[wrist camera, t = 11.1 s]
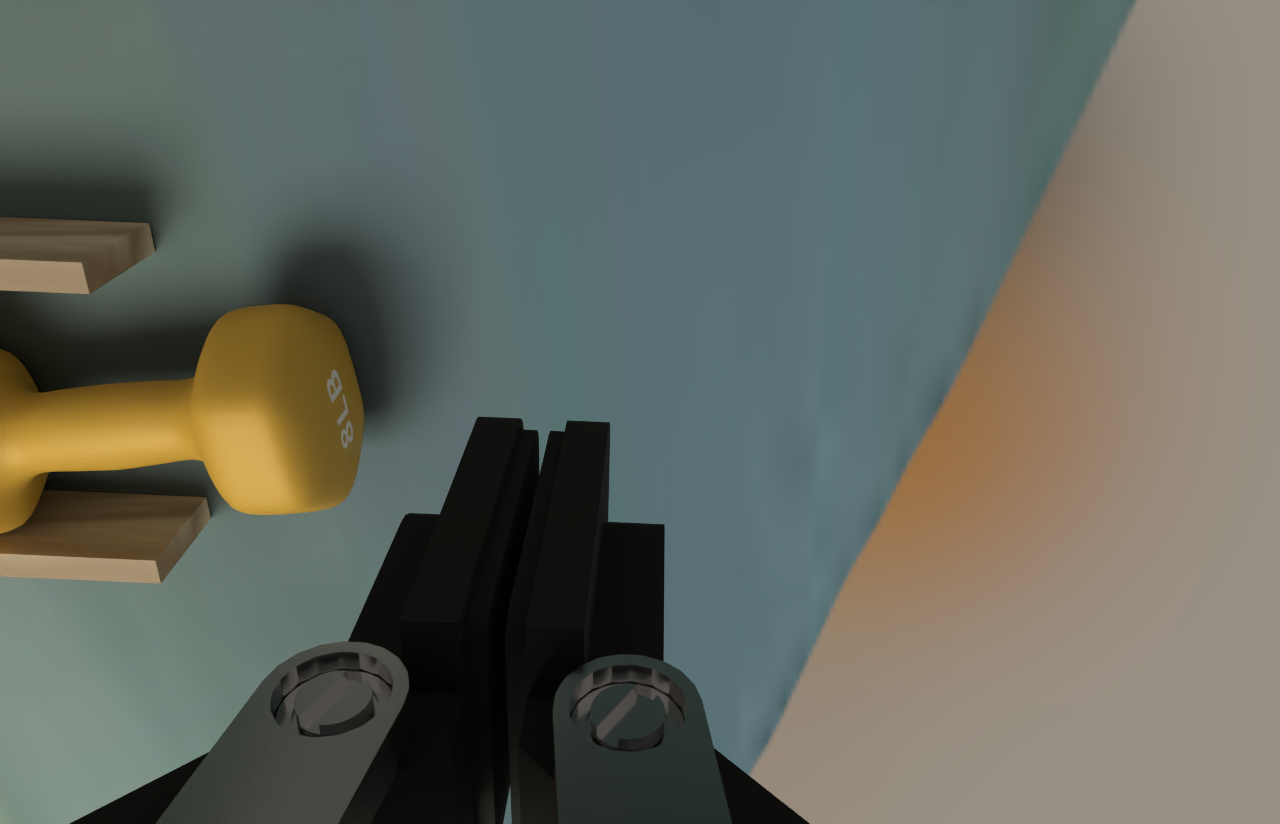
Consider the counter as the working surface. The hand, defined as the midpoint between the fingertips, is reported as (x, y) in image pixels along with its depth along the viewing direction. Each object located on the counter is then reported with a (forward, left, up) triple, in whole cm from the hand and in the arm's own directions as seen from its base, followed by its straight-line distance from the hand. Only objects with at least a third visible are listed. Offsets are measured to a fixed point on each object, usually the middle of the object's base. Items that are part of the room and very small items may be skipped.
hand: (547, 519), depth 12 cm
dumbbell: (+12, -20, -28) cm, 36 cm away
